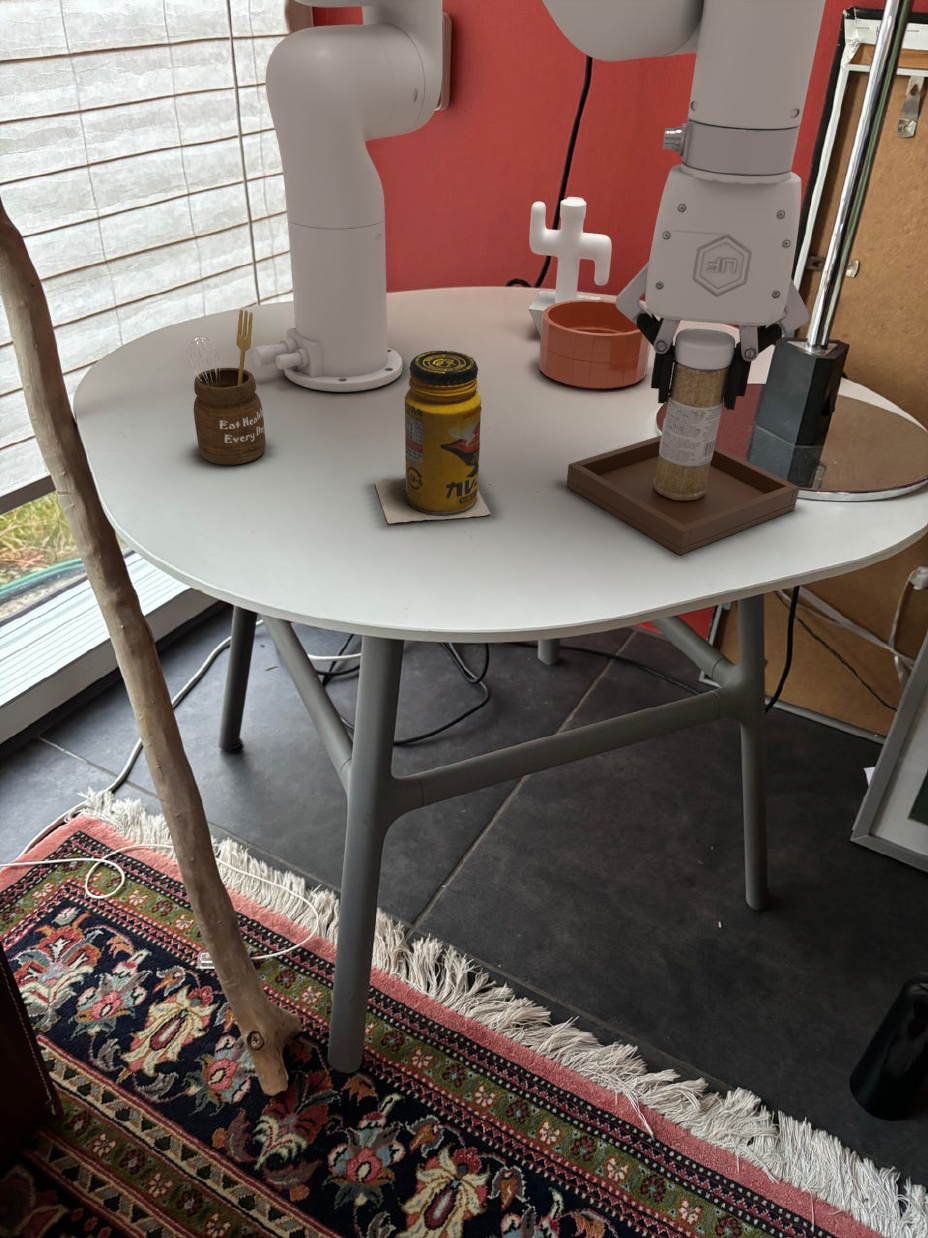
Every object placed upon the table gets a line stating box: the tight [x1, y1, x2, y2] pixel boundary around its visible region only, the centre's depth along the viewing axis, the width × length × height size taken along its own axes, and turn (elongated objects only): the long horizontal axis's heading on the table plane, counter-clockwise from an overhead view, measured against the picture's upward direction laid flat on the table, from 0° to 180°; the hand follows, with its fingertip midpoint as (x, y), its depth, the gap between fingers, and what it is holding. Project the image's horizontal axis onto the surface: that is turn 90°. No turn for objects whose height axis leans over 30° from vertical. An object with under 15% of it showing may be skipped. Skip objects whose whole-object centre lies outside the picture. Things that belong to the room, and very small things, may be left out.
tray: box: [566, 435, 801, 556], centre depth 82 cm, size 14×14×2 cm
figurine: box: [528, 196, 613, 337], centre depth 112 cm, size 7×9×15 cm
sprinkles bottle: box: [653, 326, 736, 501], centre depth 79 cm, size 5×5×13 cm
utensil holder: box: [186, 308, 266, 466], centre depth 85 cm, size 6×6×12 cm
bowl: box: [538, 299, 652, 390], centre depth 105 cm, size 12×12×6 cm
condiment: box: [373, 350, 492, 524], centre depth 78 cm, size 7×8×12 cm
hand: (695, 397), depth 78 cm, fingers closed on sprinkles bottle, 4 cm apart
